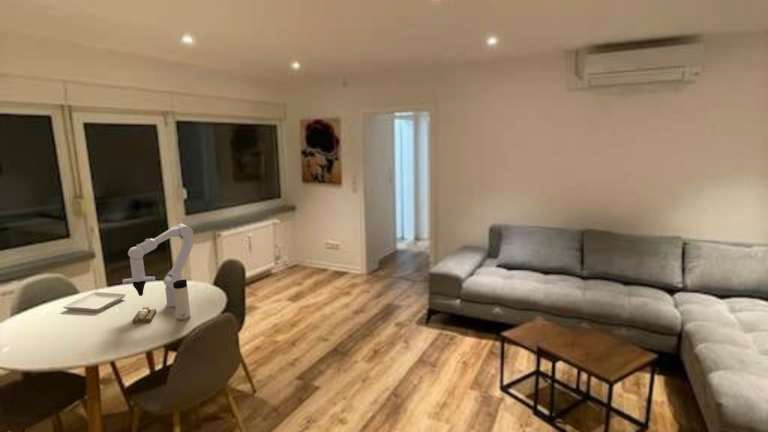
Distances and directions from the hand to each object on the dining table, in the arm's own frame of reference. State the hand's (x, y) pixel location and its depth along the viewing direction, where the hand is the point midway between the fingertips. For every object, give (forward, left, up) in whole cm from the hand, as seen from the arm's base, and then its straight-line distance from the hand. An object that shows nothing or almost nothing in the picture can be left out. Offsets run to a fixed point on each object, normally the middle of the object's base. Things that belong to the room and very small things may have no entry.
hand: (141, 295), depth 222 cm
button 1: (-3, +13, -7) cm, 15 cm away
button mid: (-3, +9, -7) cm, 12 cm away
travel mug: (-22, +15, -9) cm, 28 cm away
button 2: (-3, +5, -7) cm, 9 cm away
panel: (-3, +9, -9) cm, 13 cm away
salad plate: (+27, -19, -10) cm, 34 cm away
